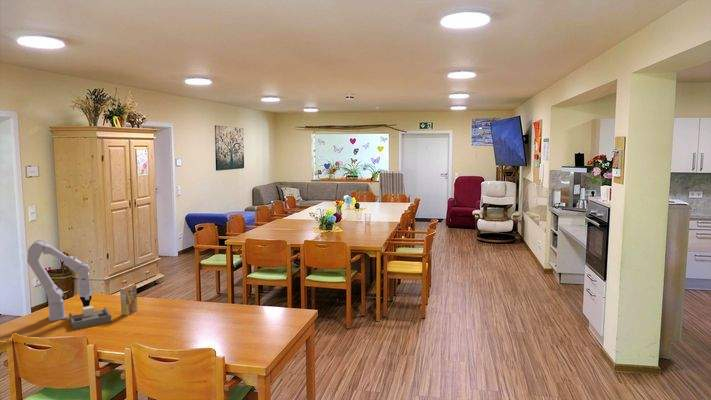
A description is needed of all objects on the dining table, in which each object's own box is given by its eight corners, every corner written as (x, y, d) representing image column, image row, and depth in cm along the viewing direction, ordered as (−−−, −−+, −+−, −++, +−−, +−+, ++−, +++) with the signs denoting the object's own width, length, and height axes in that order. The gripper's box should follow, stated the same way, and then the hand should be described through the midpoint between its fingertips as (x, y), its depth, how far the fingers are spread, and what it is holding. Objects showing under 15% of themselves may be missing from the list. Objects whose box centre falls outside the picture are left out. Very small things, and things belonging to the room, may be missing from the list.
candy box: (131, 309, 283) (130, 283, 281) (138, 310, 282) (136, 284, 280) (121, 315, 274) (119, 288, 273) (127, 315, 273) (125, 288, 272)
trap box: (69, 319, 268) (68, 313, 267) (105, 312, 278) (105, 306, 278) (73, 329, 254) (72, 322, 254) (111, 321, 264) (111, 315, 264)
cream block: (82, 314, 270) (82, 307, 270) (93, 312, 273) (92, 305, 273) (84, 316, 266) (83, 309, 266) (94, 314, 269) (93, 307, 269)
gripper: (94, 287, 271) (96, 311, 272) (90, 281, 282) (92, 304, 284) (80, 289, 267) (82, 313, 268) (76, 283, 278) (78, 306, 280)
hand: (86, 309), depth 276 cm, fingers closed
